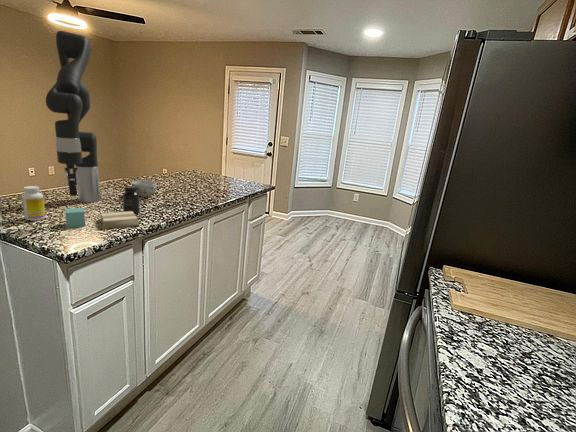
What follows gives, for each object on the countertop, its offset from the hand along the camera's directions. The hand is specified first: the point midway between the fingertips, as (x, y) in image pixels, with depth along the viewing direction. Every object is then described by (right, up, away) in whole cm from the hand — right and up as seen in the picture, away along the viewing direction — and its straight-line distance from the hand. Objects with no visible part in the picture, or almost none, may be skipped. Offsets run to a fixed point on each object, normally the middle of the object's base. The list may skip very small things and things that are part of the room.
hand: (73, 193), depth 119 cm
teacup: (+3, +2, +55) cm, 55 cm away
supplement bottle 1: (-19, -10, +5) cm, 22 cm away
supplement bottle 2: (+10, -7, +26) cm, 28 cm away
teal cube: (-1, -12, +4) cm, 13 cm away
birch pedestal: (+12, -12, +11) cm, 20 cm away
